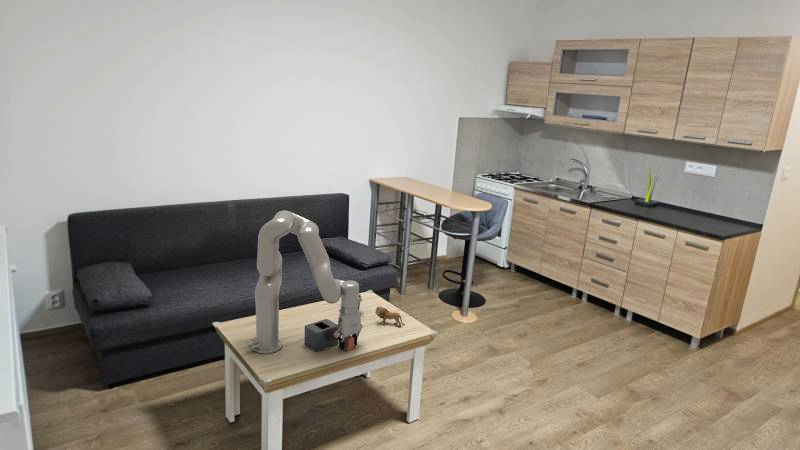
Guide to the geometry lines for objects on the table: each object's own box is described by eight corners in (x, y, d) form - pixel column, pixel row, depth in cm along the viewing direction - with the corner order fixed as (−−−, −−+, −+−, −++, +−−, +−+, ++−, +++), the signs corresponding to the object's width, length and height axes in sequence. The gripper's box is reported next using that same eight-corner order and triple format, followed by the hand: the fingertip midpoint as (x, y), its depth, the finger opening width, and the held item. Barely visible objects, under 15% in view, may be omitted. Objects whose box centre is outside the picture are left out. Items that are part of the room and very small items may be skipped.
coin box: (316, 352, 227) (316, 332, 225) (304, 344, 233) (304, 325, 231) (338, 343, 235) (339, 325, 233) (326, 336, 241) (326, 318, 239)
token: (348, 351, 230) (348, 339, 228) (342, 347, 233) (342, 335, 231) (353, 349, 232) (354, 337, 230) (347, 345, 235) (347, 333, 233)
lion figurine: (374, 325, 256) (375, 308, 253) (375, 321, 261) (376, 304, 258) (404, 328, 255) (405, 311, 253) (404, 323, 260) (406, 306, 258)
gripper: (339, 317, 219) (337, 355, 223) (370, 307, 231) (368, 343, 235) (328, 311, 224) (326, 349, 229) (359, 301, 236) (357, 337, 241)
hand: (347, 346), depth 232 cm, fingers open, 6 cm apart
